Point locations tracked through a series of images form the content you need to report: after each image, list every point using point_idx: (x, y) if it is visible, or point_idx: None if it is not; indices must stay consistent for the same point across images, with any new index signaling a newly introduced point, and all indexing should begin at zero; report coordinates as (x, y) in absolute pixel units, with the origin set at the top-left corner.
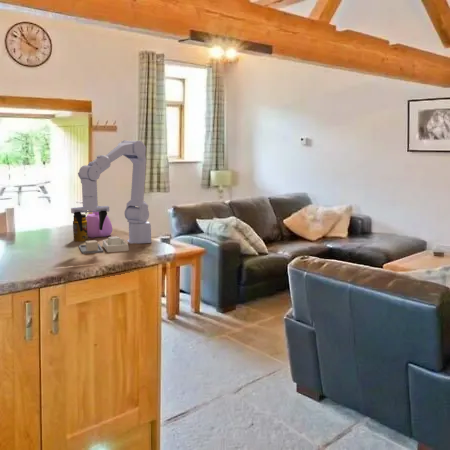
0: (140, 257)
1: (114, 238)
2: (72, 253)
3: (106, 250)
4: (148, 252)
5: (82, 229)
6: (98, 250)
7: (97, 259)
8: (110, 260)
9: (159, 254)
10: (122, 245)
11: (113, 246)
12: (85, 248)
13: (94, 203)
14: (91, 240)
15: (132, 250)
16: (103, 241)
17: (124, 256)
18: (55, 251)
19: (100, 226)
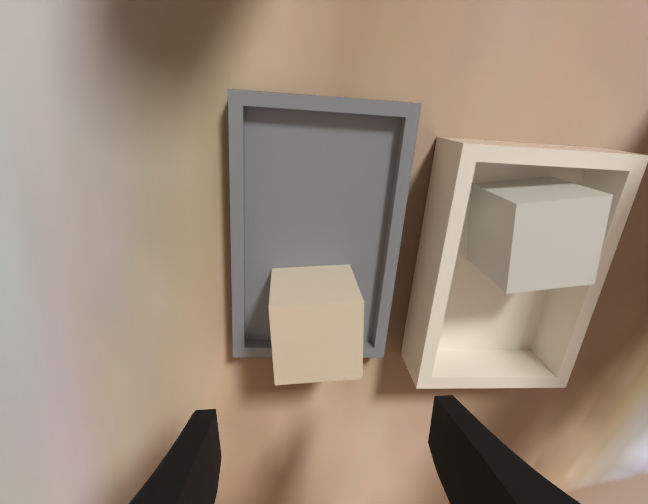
0: None
1: (540, 286)
2: (168, 276)
3: (409, 326)
4: (620, 400)
5: (217, 483)
6: None
7: (307, 465)
8: (366, 497)
9: (637, 453)
10: (522, 385)
11: (458, 382)
12: (280, 183)
13: None
14: (325, 304)
15: None
16: (451, 200)
17: None
18: (15, 148)
19: (445, 478)
